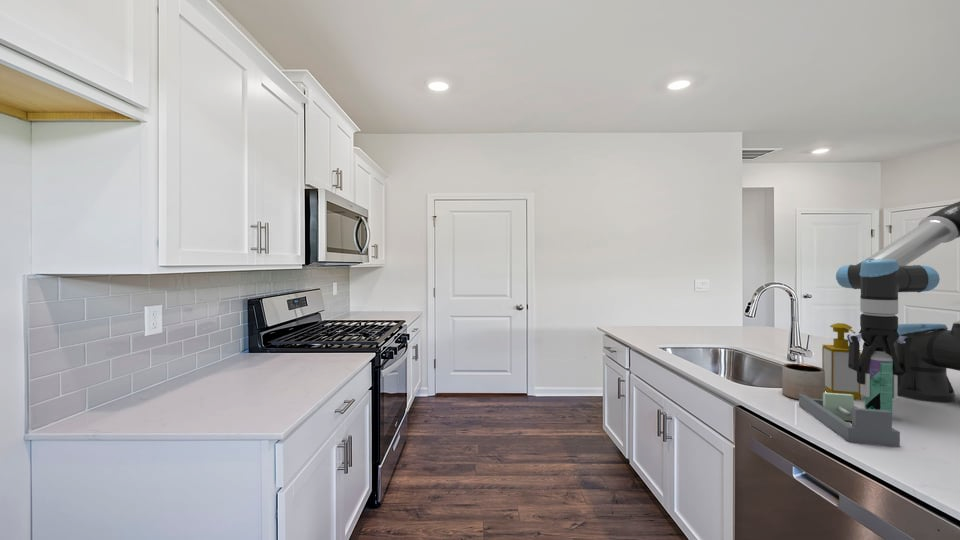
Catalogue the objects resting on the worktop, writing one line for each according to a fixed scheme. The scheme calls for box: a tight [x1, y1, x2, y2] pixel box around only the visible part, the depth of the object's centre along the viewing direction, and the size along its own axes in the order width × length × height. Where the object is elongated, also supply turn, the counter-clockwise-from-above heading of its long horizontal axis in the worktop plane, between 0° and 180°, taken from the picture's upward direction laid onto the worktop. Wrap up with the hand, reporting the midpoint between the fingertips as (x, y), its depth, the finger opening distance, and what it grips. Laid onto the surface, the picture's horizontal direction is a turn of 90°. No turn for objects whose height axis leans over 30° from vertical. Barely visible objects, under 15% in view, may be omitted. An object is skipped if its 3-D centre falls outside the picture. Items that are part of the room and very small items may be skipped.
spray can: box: [864, 347, 894, 413], centre depth 112 cm, size 6×6×20 cm
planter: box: [781, 363, 825, 401], centre depth 129 cm, size 11×11×10 cm
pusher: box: [823, 393, 855, 422], centre depth 108 cm, size 6×5×7 cm
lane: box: [798, 394, 901, 447], centre depth 108 cm, size 10×25×8 cm, turn 163°
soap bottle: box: [821, 322, 862, 401], centre depth 127 cm, size 7×13×24 cm, turn 158°
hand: (878, 396), depth 112 cm, fingers closed on spray can, 5 cm apart
